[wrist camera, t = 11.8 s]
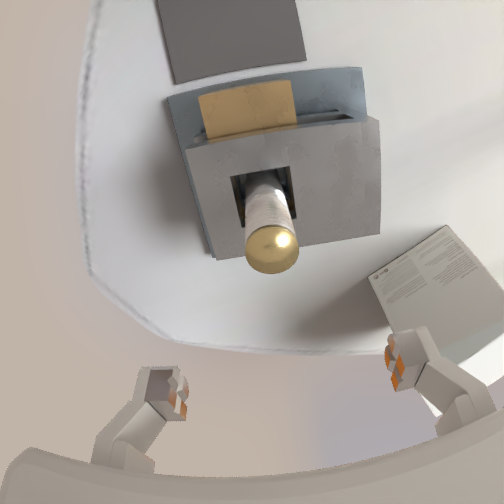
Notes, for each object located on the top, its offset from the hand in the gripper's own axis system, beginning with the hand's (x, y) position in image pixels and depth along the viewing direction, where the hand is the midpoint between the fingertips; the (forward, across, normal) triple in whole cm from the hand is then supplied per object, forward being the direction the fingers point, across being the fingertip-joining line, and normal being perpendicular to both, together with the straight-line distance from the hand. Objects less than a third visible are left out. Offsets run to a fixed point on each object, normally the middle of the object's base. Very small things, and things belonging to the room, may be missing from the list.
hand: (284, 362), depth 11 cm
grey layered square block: (+22, -2, 0) cm, 22 cm away
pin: (+21, 0, 0) cm, 21 cm away
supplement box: (+22, -20, +19) cm, 36 cm away
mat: (+23, 0, -16) cm, 27 cm away
